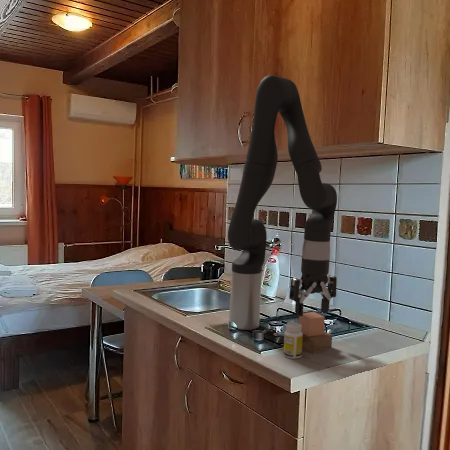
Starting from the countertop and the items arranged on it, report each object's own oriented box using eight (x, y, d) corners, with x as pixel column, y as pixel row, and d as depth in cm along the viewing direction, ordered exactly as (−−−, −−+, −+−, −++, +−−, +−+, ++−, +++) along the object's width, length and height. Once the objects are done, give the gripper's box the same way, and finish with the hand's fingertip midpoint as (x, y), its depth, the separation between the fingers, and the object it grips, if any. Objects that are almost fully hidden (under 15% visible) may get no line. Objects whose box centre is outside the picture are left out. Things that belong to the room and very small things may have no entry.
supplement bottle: (299, 352, 124) (301, 321, 124) (303, 359, 120) (305, 327, 119) (282, 352, 124) (283, 321, 123) (284, 359, 120) (286, 327, 119)
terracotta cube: (298, 330, 131) (299, 313, 130) (313, 329, 133) (313, 311, 132) (308, 336, 126) (309, 318, 126) (323, 334, 128) (324, 316, 128)
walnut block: (290, 346, 130) (291, 332, 129) (308, 340, 135) (309, 326, 135) (313, 355, 124) (314, 340, 124) (331, 348, 129) (332, 334, 129)
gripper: (327, 252, 134) (323, 307, 135) (286, 255, 127) (282, 312, 129) (345, 257, 127) (340, 315, 129) (302, 260, 120) (298, 320, 122)
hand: (311, 313), depth 129 cm, fingers open, 8 cm apart
